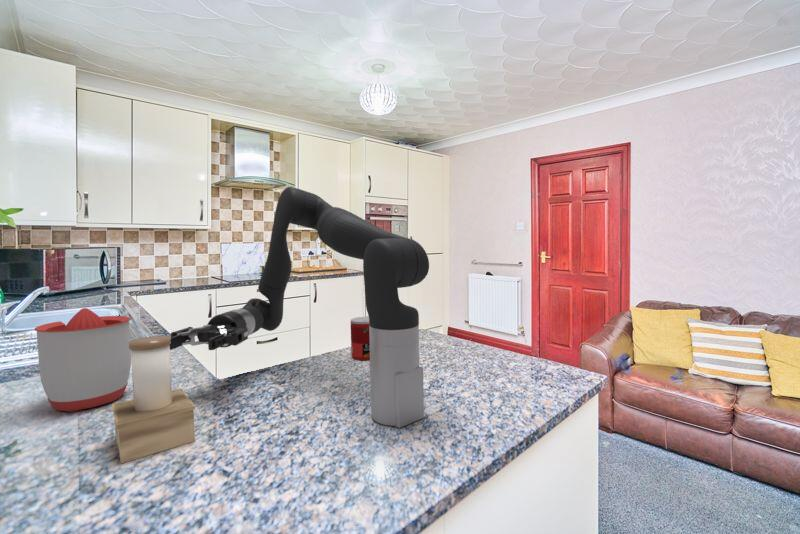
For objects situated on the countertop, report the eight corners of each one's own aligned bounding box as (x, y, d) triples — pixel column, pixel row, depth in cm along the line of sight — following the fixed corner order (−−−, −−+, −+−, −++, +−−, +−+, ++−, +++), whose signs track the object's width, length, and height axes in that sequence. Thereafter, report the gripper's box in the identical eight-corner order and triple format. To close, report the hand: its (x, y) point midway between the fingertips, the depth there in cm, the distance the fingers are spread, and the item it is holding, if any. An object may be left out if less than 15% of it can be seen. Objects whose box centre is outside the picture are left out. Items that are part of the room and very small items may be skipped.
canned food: (366, 362, 106) (365, 322, 105) (345, 357, 111) (344, 319, 110) (383, 355, 112) (383, 318, 112) (363, 351, 117) (362, 315, 116)
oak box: (196, 441, 64) (194, 405, 64) (119, 464, 57) (117, 425, 57) (183, 420, 72) (181, 388, 72) (114, 438, 65) (112, 404, 65)
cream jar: (176, 404, 64) (173, 339, 63) (134, 415, 60) (131, 346, 60) (170, 395, 68) (167, 334, 68) (130, 404, 65) (127, 339, 64)
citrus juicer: (120, 381, 94) (115, 300, 93) (145, 398, 83) (140, 306, 82) (32, 402, 82) (25, 309, 81) (48, 425, 71) (40, 317, 70)
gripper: (202, 311, 90) (152, 325, 74) (261, 311, 89) (223, 325, 73) (204, 342, 91) (154, 363, 75) (262, 342, 90) (225, 364, 74)
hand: (188, 344), depth 74 cm, fingers open, 8 cm apart
